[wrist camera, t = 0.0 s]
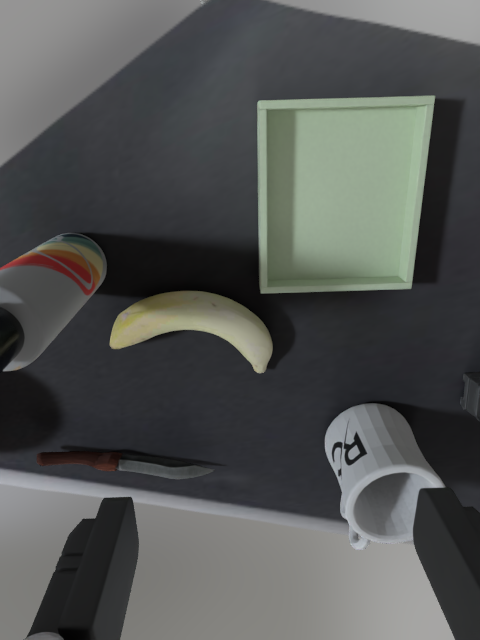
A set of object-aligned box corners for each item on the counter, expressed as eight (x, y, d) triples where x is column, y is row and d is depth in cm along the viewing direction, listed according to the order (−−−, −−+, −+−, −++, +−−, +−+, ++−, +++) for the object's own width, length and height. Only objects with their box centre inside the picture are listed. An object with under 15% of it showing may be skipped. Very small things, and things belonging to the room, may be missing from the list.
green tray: (256, 102, 36) (258, 100, 34) (422, 97, 36) (435, 95, 34) (259, 285, 42) (260, 293, 39) (401, 280, 42) (411, 289, 39)
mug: (343, 389, 46) (372, 453, 37) (423, 413, 47) (469, 480, 38) (298, 480, 50) (313, 557, 41) (372, 499, 52) (402, 579, 42)
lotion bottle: (90, 222, 39) (-36, 300, 21) (118, 281, 41) (27, 400, 23) (32, 244, 40) (-141, 339, 21) (63, 301, 42) (-70, 432, 23)
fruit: (123, 268, 41) (114, 280, 38) (283, 304, 42) (287, 317, 39) (113, 338, 44) (104, 354, 40) (264, 370, 45) (266, 387, 42)
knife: (216, 458, 49) (215, 477, 46) (214, 469, 50) (213, 489, 47) (43, 439, 48) (32, 458, 45) (43, 450, 48) (32, 470, 46)
